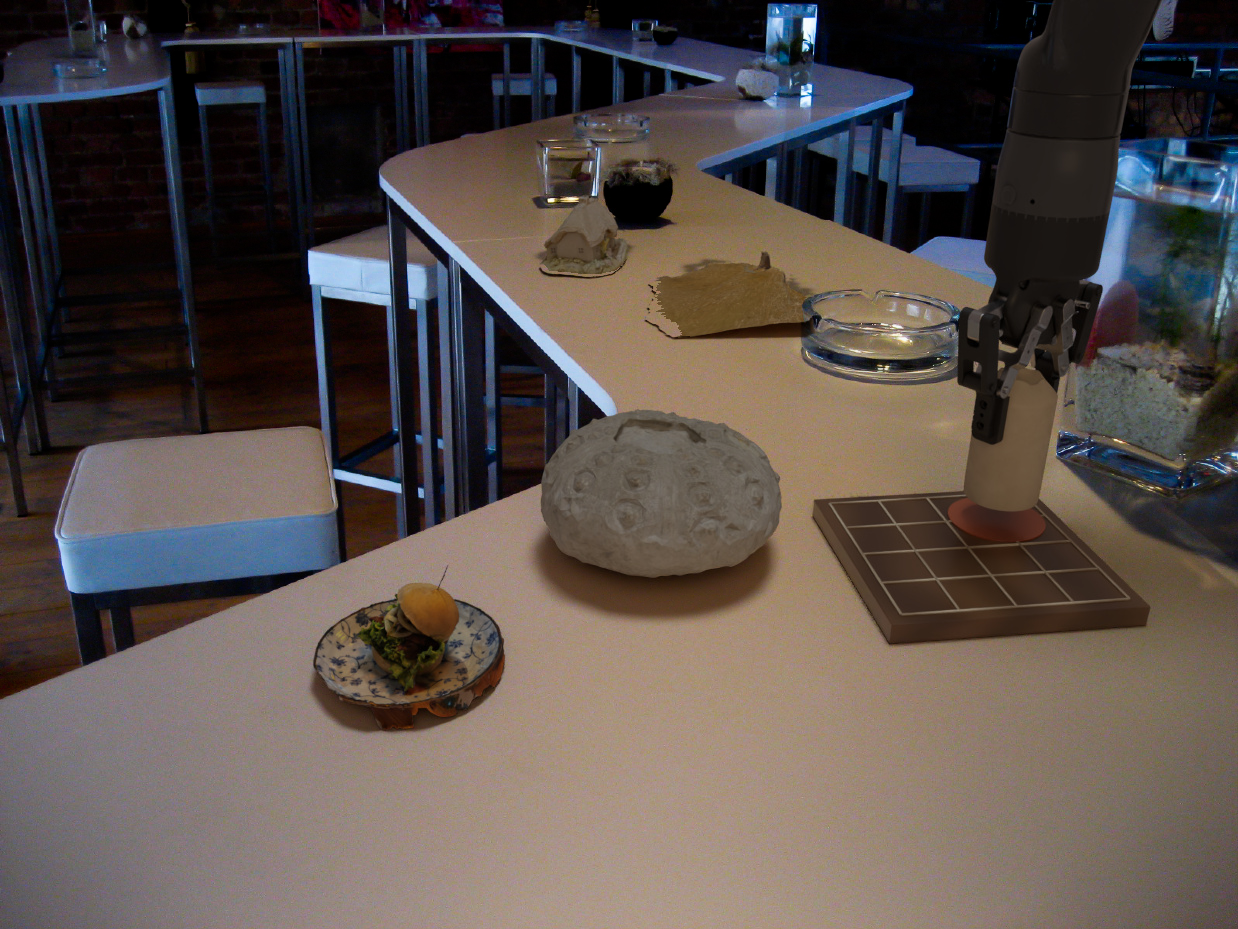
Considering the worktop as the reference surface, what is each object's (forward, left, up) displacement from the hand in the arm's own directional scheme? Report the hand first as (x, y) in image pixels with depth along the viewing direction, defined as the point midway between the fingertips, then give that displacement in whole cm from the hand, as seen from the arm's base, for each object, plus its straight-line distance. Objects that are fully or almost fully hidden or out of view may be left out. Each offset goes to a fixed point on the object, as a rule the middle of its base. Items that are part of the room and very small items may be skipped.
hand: (1011, 429), depth 80 cm
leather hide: (+8, -61, -9) cm, 62 cm away
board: (+4, +4, -9) cm, 11 cm away
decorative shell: (+26, -1, -9) cm, 28 cm away
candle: (0, 0, -6) cm, 6 cm away
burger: (+44, +12, -9) cm, 47 cm away
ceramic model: (+24, -83, -9) cm, 87 cm away
